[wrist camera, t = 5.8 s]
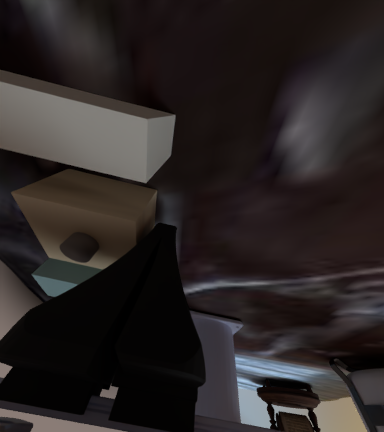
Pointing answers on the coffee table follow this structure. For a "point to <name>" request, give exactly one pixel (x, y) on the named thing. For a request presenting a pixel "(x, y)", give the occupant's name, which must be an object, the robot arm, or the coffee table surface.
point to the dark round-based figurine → (294, 398)
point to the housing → (87, 216)
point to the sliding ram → (62, 275)
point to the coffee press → (365, 393)
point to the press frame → (82, 128)
